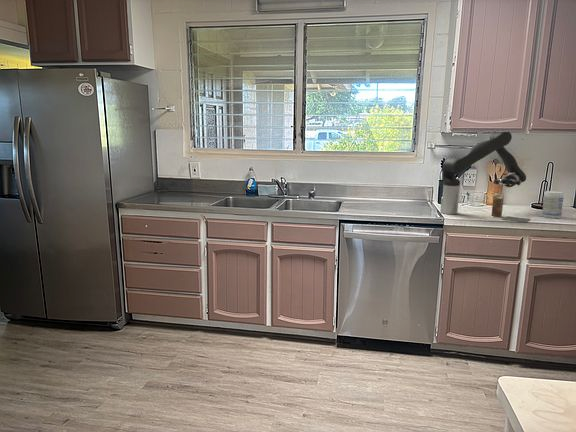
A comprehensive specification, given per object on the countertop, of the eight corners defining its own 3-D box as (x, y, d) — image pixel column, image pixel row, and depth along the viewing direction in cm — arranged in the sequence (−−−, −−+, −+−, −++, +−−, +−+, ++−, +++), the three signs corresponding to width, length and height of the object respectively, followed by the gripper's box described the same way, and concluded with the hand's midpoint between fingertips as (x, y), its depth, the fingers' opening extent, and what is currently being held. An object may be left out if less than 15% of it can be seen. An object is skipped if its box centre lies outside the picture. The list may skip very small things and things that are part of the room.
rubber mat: (502, 219, 236) (502, 219, 236) (507, 216, 244) (507, 216, 244) (526, 222, 228) (526, 221, 228) (530, 219, 237) (530, 218, 236)
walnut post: (491, 216, 245) (493, 194, 242) (493, 215, 248) (495, 193, 245) (499, 217, 242) (501, 195, 239) (501, 216, 245) (503, 194, 243)
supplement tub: (561, 219, 237) (564, 193, 234) (542, 217, 242) (545, 192, 239) (560, 216, 246) (563, 191, 243) (541, 214, 250) (544, 190, 247)
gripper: (499, 173, 266) (492, 176, 253) (524, 175, 257) (518, 177, 244) (498, 185, 267) (491, 188, 255) (523, 187, 258) (517, 190, 246)
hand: (504, 183), depth 250 cm, fingers open, 8 cm apart
